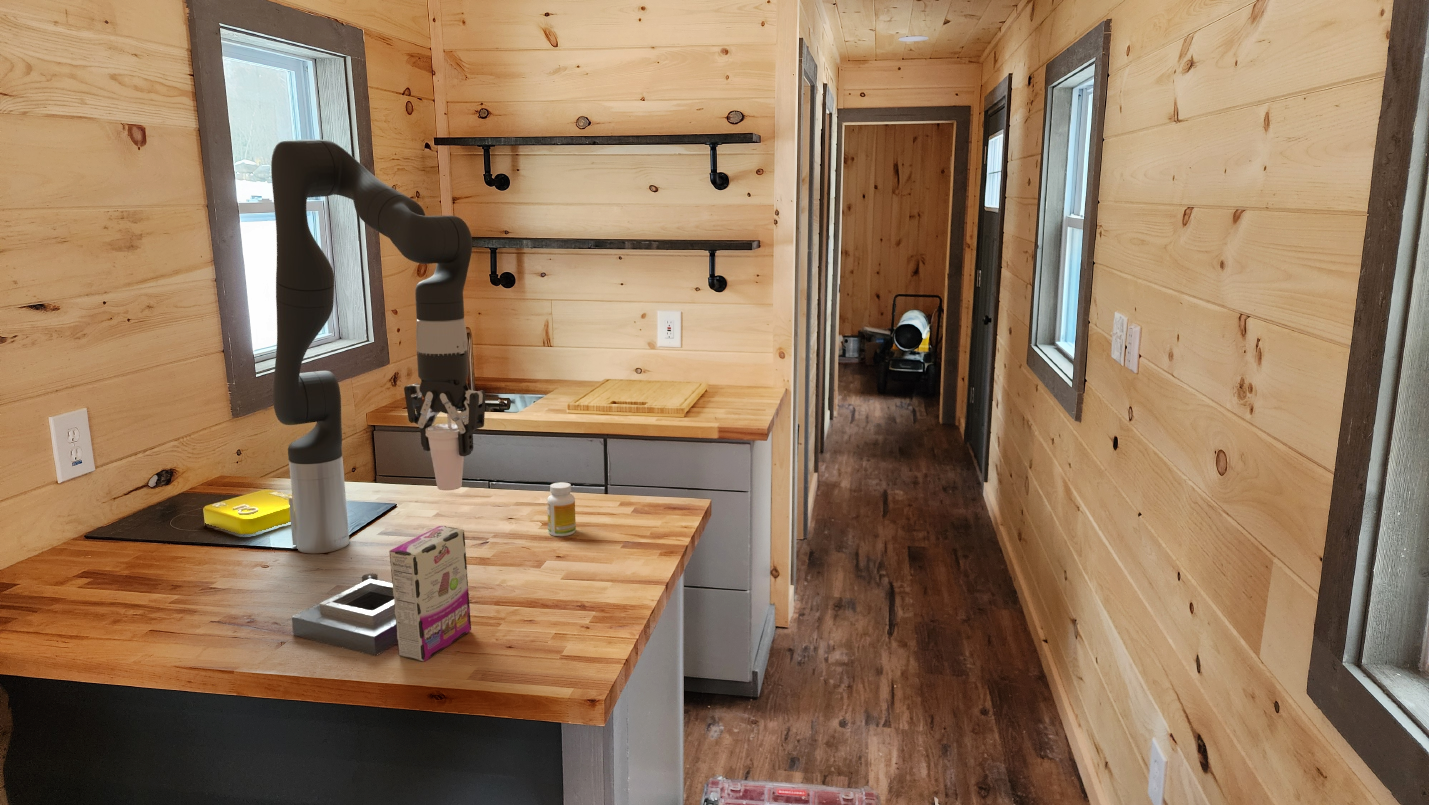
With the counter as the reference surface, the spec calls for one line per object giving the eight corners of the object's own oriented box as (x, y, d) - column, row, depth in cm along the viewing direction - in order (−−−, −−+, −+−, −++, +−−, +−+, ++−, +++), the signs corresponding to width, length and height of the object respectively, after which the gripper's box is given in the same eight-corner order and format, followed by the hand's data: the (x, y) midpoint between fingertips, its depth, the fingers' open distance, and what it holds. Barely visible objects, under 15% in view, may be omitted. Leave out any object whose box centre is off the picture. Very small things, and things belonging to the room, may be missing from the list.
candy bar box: (445, 625, 145) (439, 524, 142) (472, 631, 143) (466, 528, 140) (395, 657, 135) (387, 548, 132) (423, 663, 133) (416, 554, 130)
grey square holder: (293, 635, 142) (290, 607, 141) (371, 595, 156) (369, 570, 155) (375, 655, 135) (373, 626, 134) (448, 612, 150) (447, 586, 149)
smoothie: (459, 494, 146) (455, 406, 143) (421, 491, 147) (415, 404, 144) (476, 482, 152) (473, 397, 149) (439, 479, 153) (435, 395, 150)
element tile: (313, 519, 194) (311, 497, 193) (245, 541, 182) (243, 517, 181) (269, 507, 202) (266, 485, 201) (200, 527, 189) (198, 504, 188)
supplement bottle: (581, 530, 187) (580, 483, 185) (563, 538, 182) (561, 490, 180) (560, 525, 190) (559, 479, 188) (542, 533, 185) (540, 486, 183)
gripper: (388, 347, 144) (394, 453, 148) (465, 355, 139) (470, 464, 142) (420, 341, 151) (426, 442, 155) (495, 347, 146) (499, 452, 149)
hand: (447, 452), depth 148 cm, fingers closed on smoothie, 6 cm apart
